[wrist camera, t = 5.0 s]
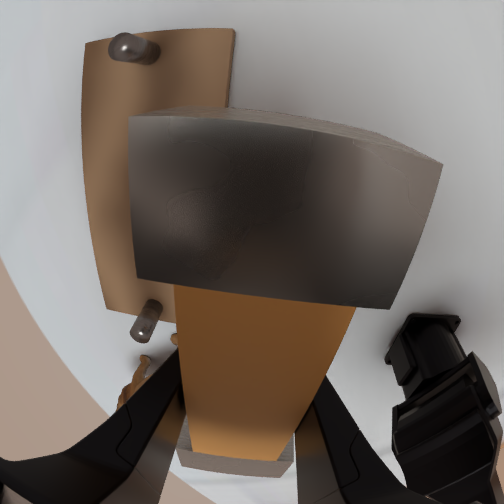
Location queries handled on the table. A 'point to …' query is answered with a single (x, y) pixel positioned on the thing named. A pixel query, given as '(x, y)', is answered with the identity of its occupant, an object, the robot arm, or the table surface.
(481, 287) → the table surface
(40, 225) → the table surface
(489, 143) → the table surface
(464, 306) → the table surface
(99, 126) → the board
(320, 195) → the hammer
